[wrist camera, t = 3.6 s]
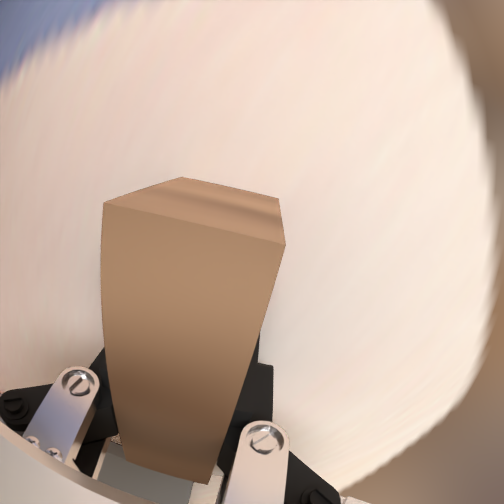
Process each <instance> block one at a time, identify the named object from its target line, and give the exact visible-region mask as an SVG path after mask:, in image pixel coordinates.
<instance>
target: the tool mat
mask: <svg viewBox="0 0 504 504" xmlns="http://www.w3.org/2000/svg"><path fill="white" fill-rule="evenodd" d="M97 481H100V482H102V483H104V484H106V485H109V486H111V487H113V488H116V489H118V490H121V491H123V492H126V493H129V494H131V495H134V496H137V497H140V498H143V499H146V500H149V501H152V502H155V503H158V504H188V503H189V498H190V494H191V490H192V485H193V481H189V480H185V479H181V478H177V477H173V476H170V475H166V474H163V473H160V472H157V471H153V470H150V469H147V468H144V467H142V466H139V465H136V464H133V463H130V462H128V461H126V458H125V454H124V451H123V447H122V446H121V445H119V444H116V443H114V442H111V441H110V444H109V446H108V449H107V452H106V455H105V458H104V460H103V463H102V466H101V469H100V472H99V475H98V478H97Z"/></svg>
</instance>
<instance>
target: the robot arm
mask: <svg viewBox="0 0 504 504" xmlns="http://www.w3.org/2000/svg"><path fill="white" fill-rule="evenodd" d="M259 339H260V333H259V336H258V339H257V342H256V346H255V349H254V352H253V355H252V358H251V361H250V364H249V368H248V371H247V374H246V377H245V380H244V383H243V386H242V389H241V392H240V395H239V398H238V401H237V404H236V407H235V410H234V413H233V416H232V419H231V421H230V424H229V427H228V430H227V433H226V436H225V439H224V442H223V444H222V447H221V450H220V453H219V456H218V458H217V463H216V465H217V466H218V467H219V468H220V470H221V471H222V472H223V477H222V480H221V484H220V488H219V492H218V495H217V499H216V503H215V504H370V503H367V502H364V501H361V500H358V499H355V498H352V497H349V496H348V497H346V498H345V497H342V496H340V495H339V493H338V492H337V491H336V490H335V489H334V487H332V486H331V485H330V484H328V483H327V482H326V481H325V480H323V479H322V478H321V477H320V476H318V475H317V474H316V473H315V472H314V471H312V470H311V469H310V468H309V467H308V466H306V465H305V464H304V463H303V462H302V461H301V460H299V459H298V458H297V457H296V456H295V455H294V454H293V453H291V452H290V451H289V437H288V436H287V434H286V432H285V431H284V430H283V429H282V428H281V427H280V426H278V425H277V424H275V423H272V414H273V366H271V365H266V364H261V363H258V351H259ZM118 433H119V431H118V426H117V422H116V417H115V412H114V407H113V402H112V396H111V390H110V384H109V378H108V371H107V363H106V355H105V347H104V348H103V349H102V351H101V352H100V353H99V355H98V356H97V357H96V359H95V360H94V362H93V363H92V364H91V366H90V367H89V368H85V367H81V366H73V367H69V368H67V369H65V370H63V371H62V372H61V373H60V375H59V376H58V377H57V379H56V381H55V382H54V384H48V385H42V386H36V387H29V388H22V389H14V390H10V391H7V392H5V393H3V394H1V393H0V504H158V503H155V502H152V501H149V500H146V499H143V498H140V497H137V496H134V495H131V494H129V493H126V492H123V491H121V490H118V489H116V488H113V487H111V486H109V485H106V484H104V483H102V482H100V481H97V478H98V475H99V472H100V469H101V466H102V463H103V460H104V458H105V455H106V452H107V449H108V446H109V444H110V441H111V437H112V436H115V435H118Z"/></svg>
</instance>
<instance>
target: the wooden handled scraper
mask: <svg viewBox="0 0 504 504" xmlns="http://www.w3.org/2000/svg"><path fill="white" fill-rule="evenodd" d="M285 246H286V243H285V237H284V230H283V224H282V218H281V211H280V205H279V199H278V198H274V197H270V196H266V195H261V194H257V193H253V192H249V191H245V190H240V189H236V188H232V187H227V186H223V185H218V184H213V183H209V182H204V181H199V180H194V179H189V178H184V177H180V178H176V179H173V180H169V181H166V182H163V183H160V184H156V185H153V186H150V187H147V188H144V189H141V190H138V191H135V192H132V193H129V194H126V195H123V196H120V197H117V198H115V199H112V200H109V201H106V202H104V204H103V217H102V235H101V305H102V322H103V335H104V346H105V355H106V363H107V371H108V378H109V384H110V390H111V396H112V402H113V407H114V412H115V417H116V422H117V426H118V431H119V435H120V439H121V443H122V447H123V451H124V454H125V458H126V461H128V462H130V463H133V464H136V465H139V466H142V467H144V468H147V469H150V470H153V471H157V472H160V473H163V474H166V475H170V476H173V477H177V478H181V479H185V480H189V481H193V482H197V483H201V484H206V485H208V483H209V480H210V478H211V475H217V476H222V477H223V472H222V471H221V470H220V468H219V467H218V466H217V465H216V463H217V458H218V456H219V453H220V450H221V447H222V444H223V442H224V439H225V436H226V433H227V430H228V427H229V424H230V421H231V419H232V416H233V413H234V410H235V407H236V404H237V401H238V398H239V395H240V392H241V389H242V386H243V383H244V380H245V377H246V374H247V371H248V368H249V364H250V361H251V358H252V355H253V352H254V349H255V346H256V342H257V339H258V336H259V333H260V330H261V326H262V323H263V320H264V317H265V313H266V310H267V307H268V304H269V300H270V297H271V294H272V290H273V287H274V284H275V280H276V277H277V273H278V270H279V267H280V263H281V260H282V256H283V253H284V249H285Z"/></svg>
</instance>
